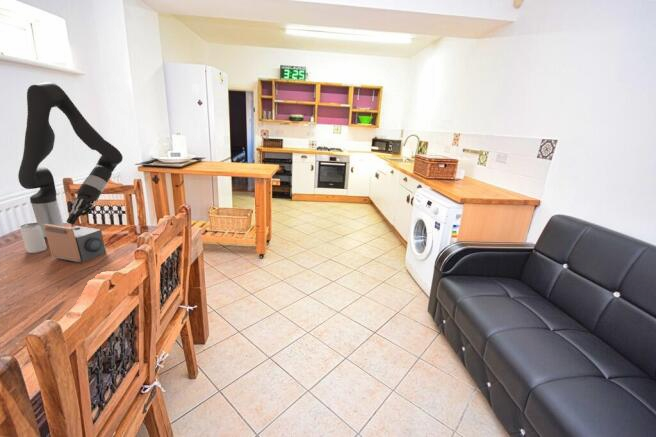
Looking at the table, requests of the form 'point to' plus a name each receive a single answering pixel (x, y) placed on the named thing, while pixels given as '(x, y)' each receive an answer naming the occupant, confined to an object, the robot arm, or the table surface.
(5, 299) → the table surface
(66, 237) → the side door
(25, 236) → the can
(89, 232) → the camera body
